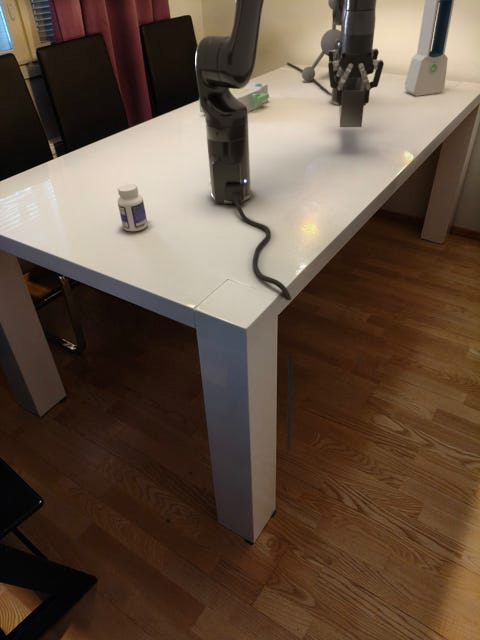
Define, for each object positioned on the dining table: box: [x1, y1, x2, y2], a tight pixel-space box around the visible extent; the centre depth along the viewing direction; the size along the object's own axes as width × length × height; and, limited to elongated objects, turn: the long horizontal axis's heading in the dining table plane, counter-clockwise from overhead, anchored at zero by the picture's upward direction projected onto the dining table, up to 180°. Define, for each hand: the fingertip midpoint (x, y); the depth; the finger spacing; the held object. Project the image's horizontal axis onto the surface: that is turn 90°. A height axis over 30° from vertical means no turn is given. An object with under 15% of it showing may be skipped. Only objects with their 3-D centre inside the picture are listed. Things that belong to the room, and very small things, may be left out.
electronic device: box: [404, 0, 455, 97], centre depth 172 cm, size 12×8×30 cm, turn 105°
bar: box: [338, 71, 365, 128], centre depth 135 cm, size 23×6×9 cm, turn 172°
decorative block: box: [198, 82, 270, 114], centre depth 174 cm, size 26×6×20 cm
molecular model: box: [301, 0, 341, 82], centre depth 196 cm, size 24×22×30 cm
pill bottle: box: [117, 182, 148, 232], centre depth 102 cm, size 5×5×9 cm
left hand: (352, 104), depth 128 cm, fingers closed on bar, 5 cm apart
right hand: (350, 89), depth 141 cm, fingers closed on bar, 5 cm apart
